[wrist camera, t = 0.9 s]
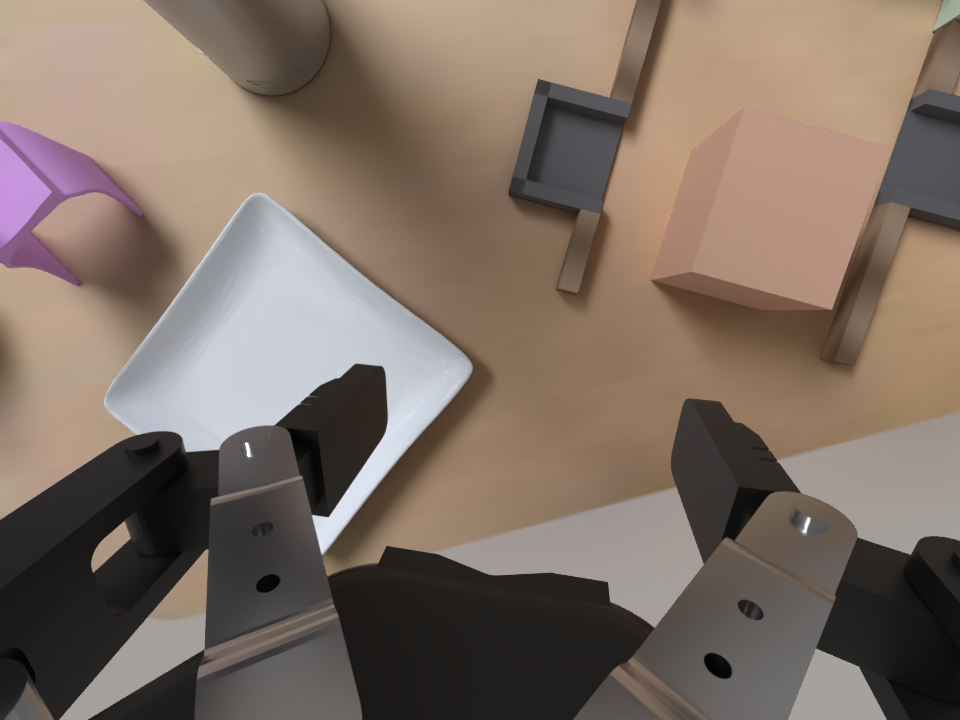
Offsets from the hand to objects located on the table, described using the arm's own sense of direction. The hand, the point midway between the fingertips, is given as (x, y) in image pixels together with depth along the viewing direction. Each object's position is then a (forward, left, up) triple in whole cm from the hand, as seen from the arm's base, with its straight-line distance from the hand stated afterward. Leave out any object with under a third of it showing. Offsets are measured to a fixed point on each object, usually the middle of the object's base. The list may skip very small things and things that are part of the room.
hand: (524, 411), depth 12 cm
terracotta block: (-4, +19, -24) cm, 31 cm away
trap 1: (-5, +35, -24) cm, 43 cm away
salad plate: (-2, -17, -25) cm, 30 cm away
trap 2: (-13, +8, -24) cm, 29 cm away
